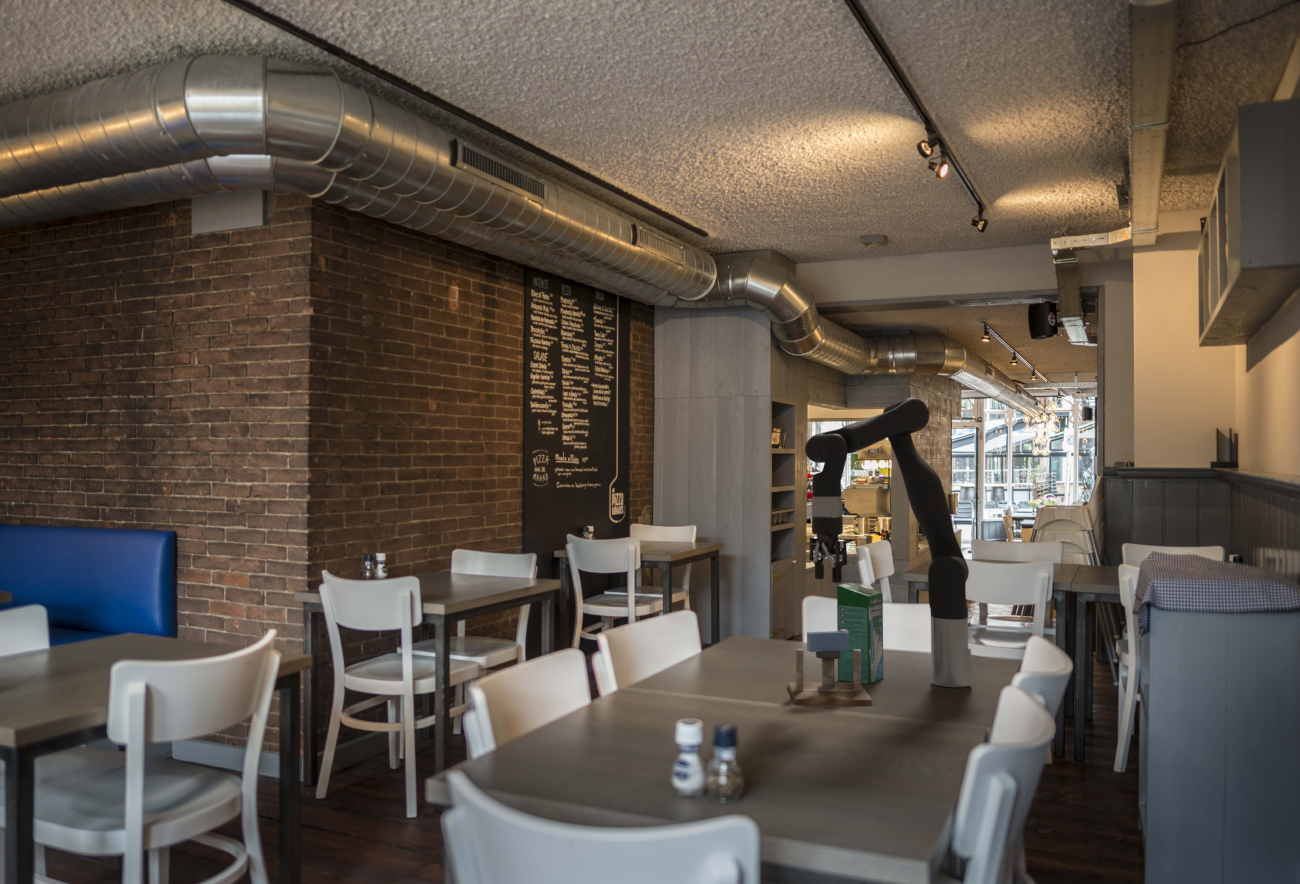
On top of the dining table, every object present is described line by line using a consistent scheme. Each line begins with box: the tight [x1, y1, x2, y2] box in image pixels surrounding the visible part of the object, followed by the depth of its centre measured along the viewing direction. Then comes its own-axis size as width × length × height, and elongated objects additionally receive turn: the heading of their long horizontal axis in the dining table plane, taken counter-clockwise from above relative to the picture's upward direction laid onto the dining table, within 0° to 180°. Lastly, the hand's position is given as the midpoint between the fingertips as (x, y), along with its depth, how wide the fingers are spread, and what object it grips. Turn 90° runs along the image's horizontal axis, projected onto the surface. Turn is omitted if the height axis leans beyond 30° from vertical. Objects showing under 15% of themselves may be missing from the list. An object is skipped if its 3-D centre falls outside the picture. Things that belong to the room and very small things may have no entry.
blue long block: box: [806, 629, 849, 660], centre depth 229 cm, size 6×10×6 cm, turn 101°
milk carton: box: [836, 582, 885, 685], centre depth 248 cm, size 9×9×25 cm
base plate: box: [787, 648, 873, 706], centre depth 229 cm, size 18×18×11 cm
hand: (828, 580), depth 230 cm, fingers open, 8 cm apart
